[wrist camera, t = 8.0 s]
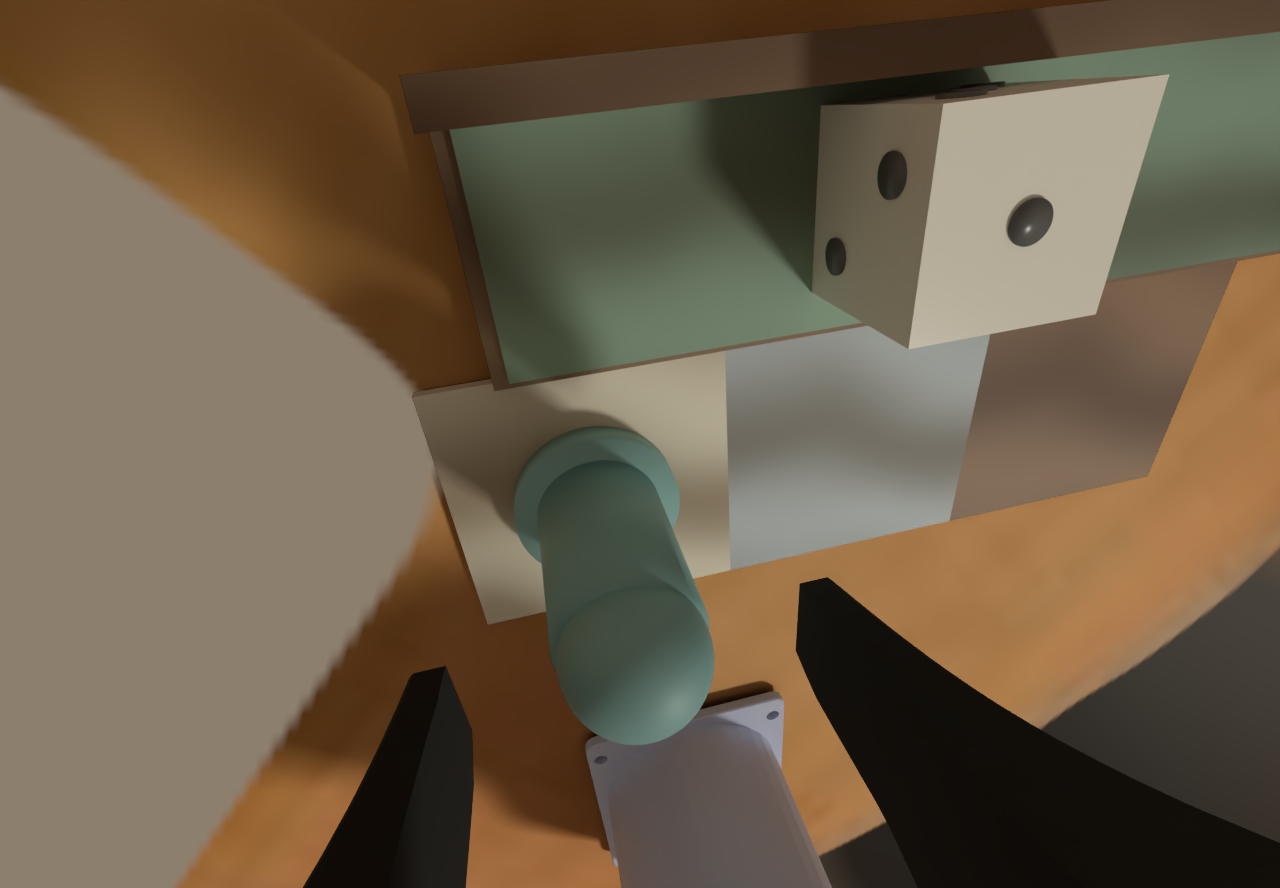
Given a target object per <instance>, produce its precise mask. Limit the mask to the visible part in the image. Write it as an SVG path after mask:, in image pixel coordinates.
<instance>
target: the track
mask: <svg viewBox="0 0 1280 888" xmlns="http://www.w3.org/2000/svg"><path fill="white" fill-rule="evenodd" d="M1236 264H1237V261H1234V262H1228V263H1223V264H1217V265H1211V266H1206V267H1200V268H1194V269H1188V270H1183V271H1177V272H1171V273H1166V274H1160V275H1154V276H1149V277H1143V278H1137V279H1131V280H1126V281H1120V282H1114V283H1109V284H1105V286H1104V289H1103V292H1102V296H1101V299H1100V302H1099V305H1098V309H1097V312H1096V314H1095V315H1090V316H1085V317H1079V318H1074V319H1069V320H1063V321H1058V322H1052V323H1047V324H1042V325H1036V326H1031V327H1026V328H1020V329H1015V330H1010V331H1004V332H999V333H994V334H988V335H983V336H978V337H972V338H967V339H961V340H956V341H951V342H945V343H940V344H935V345H929V346H924V347H919V348H913V349H907V348H905V347H904V346H902V345H900V344H898V343H897V342H895V341H893V340H892V339H890V338H888V337H887V336H885V335H883V334H881V333H880V332H878V331H876V330H875V329H873V328H871V327H870V326H864V327H858V328H852V329H846V330H841V331H835V332H829V333H824V334H818V335H812V336H807V337H801V338H795V339H789V340H784V341H778V342H772V343H767V344H761V345H755V346H750V347H744V348H738V349H732V350H727V351H721V352H715V353H710V354H704V355H698V356H693V357H687V358H681V359H676V360H670V361H664V362H658V363H653V364H647V365H641V366H636V367H630V368H624V369H619V370H613V371H607V372H601V373H596V374H590V375H584V376H579V377H573V378H567V379H562V380H556V381H550V382H544V383H539V384H533V385H527V386H522V387H516V388H510V389H505V390H499V391H494V388H493V384H492V380H491V379H488V380H482V381H476V382H471V383H465V384H459V385H453V386H447V387H442V388H436V389H430V390H424V391H418V392H414V393H413V396H412V398H413V401H414V404H415V407H416V410H417V413H418V416H419V419H420V422H421V425H422V428H423V431H424V434H425V437H426V440H427V443H428V446H429V449H430V452H431V455H432V458H433V461H434V464H435V467H436V470H437V473H438V476H439V479H440V482H441V485H442V488H443V491H444V494H445V497H446V500H447V503H448V506H449V510H450V513H451V516H452V519H453V522H454V525H455V528H456V531H457V534H458V537H459V540H460V543H461V546H462V549H463V552H464V555H465V558H466V561H467V564H468V567H469V570H470V573H471V576H472V579H473V582H474V585H475V588H476V591H477V594H478V597H479V600H480V603H481V606H482V609H483V612H484V615H485V618H486V621H487V624H488V625H489V624H494V623H498V622H502V621H507V620H511V619H516V618H520V617H525V616H529V615H534V614H538V613H542V612H546V606H545V596H544V585H543V574H542V564H541V563H540V562H538V561H537V560H535V559H534V558H533V557H532V556H531V555H530V554H529V553H528V551H527V550H526V549H525V548H524V546H523V544H522V543H521V541H520V539H519V536H518V534H517V531H516V526H515V515H514V492H515V486H516V483H517V480H518V477H519V475H520V473H521V471H522V469H523V467H524V466H525V464H526V463H527V461H528V460H529V459H530V458H531V456H532V455H533V454H534V453H535V452H536V451H537V450H539V449H540V448H541V447H542V446H543V445H545V444H546V443H548V442H549V441H551V440H552V439H554V438H556V437H558V436H560V435H562V434H564V433H567V432H570V431H572V430H576V429H580V428H584V427H592V426H610V427H618V428H622V429H626V430H629V431H632V432H635V433H637V434H639V435H641V436H643V437H645V438H646V439H647V440H649V441H650V442H651V443H653V444H654V445H655V446H656V447H657V448H658V449H659V450H660V451H661V453H662V454H663V456H664V457H665V459H666V461H667V463H668V465H669V467H670V469H671V471H672V473H673V475H674V477H675V479H676V482H677V485H678V488H679V494H680V507H679V514H678V517H677V520H676V523H675V525H674V527H673V531H674V534H675V536H676V538H677V541H678V543H679V546H680V548H681V551H682V553H683V555H684V558H685V560H686V563H687V565H688V567H689V570H690V572H691V575H692V577H693V578H698V577H702V576H707V575H711V574H716V573H720V572H724V571H729V570H733V569H738V568H742V567H747V566H751V565H756V564H760V563H764V562H769V561H773V560H778V559H782V558H787V557H791V556H796V555H800V554H804V553H809V552H813V551H818V550H822V549H827V548H831V547H835V546H840V545H844V544H849V543H853V542H858V541H862V540H867V539H871V538H875V537H880V536H884V535H889V534H893V533H898V532H902V531H906V530H911V529H915V528H920V527H924V526H929V525H933V524H938V523H942V522H946V521H951V520H955V519H960V518H964V517H969V516H973V515H978V514H982V513H986V512H991V511H995V510H1000V509H1004V508H1009V507H1013V506H1017V505H1022V504H1026V503H1031V502H1035V501H1040V500H1044V499H1049V498H1053V497H1057V496H1062V495H1066V494H1071V493H1075V492H1080V491H1084V490H1089V489H1093V488H1097V487H1102V486H1106V485H1111V484H1115V483H1120V482H1124V481H1128V480H1133V479H1137V478H1142V477H1146V476H1148V474H1149V472H1150V469H1151V467H1152V464H1153V462H1154V460H1155V457H1156V455H1157V452H1158V450H1159V448H1160V445H1161V443H1162V441H1163V438H1164V436H1165V433H1166V431H1167V429H1168V426H1169V424H1170V421H1171V419H1172V417H1173V414H1174V412H1175V409H1176V407H1177V405H1178V402H1179V400H1180V398H1181V395H1182V393H1183V390H1184V388H1185V386H1186V383H1187V381H1188V378H1189V376H1190V374H1191V371H1192V369H1193V367H1194V364H1195V362H1196V359H1197V357H1198V355H1199V352H1200V350H1201V347H1202V345H1203V343H1204V340H1205V338H1206V335H1207V333H1208V331H1209V328H1210V326H1211V324H1212V321H1213V319H1214V316H1215V314H1216V312H1217V309H1218V307H1219V304H1220V302H1221V300H1222V297H1223V295H1224V293H1225V290H1226V288H1227V285H1228V283H1229V281H1230V278H1231V276H1232V273H1233V271H1234V269H1235V266H1236Z"/></svg>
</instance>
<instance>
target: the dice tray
mask: <svg viewBox="0 0 1280 888" xmlns="http://www.w3.org/2000/svg"><path fill="white" fill-rule="evenodd" d="M1163 74H1169V78H1168V81H1167V84H1166V87H1165V91H1164V94H1163V97H1162V100H1161V104H1160V107H1159V110H1158V113H1157V117H1156V120H1155V123H1154V126H1153V130H1152V133H1151V136H1150V139H1149V143H1148V146H1147V149H1146V152H1145V156H1144V159H1143V162H1142V165H1141V169H1140V172H1139V175H1138V178H1137V182H1136V185H1135V188H1134V192H1133V195H1132V198H1131V201H1130V205H1129V208H1128V211H1127V214H1126V218H1125V221H1124V224H1123V227H1122V231H1121V234H1120V237H1119V240H1118V244H1117V247H1116V250H1115V253H1114V257H1113V260H1112V263H1111V266H1110V270H1109V273H1108V276H1107V279H1106V283H1105V284H1109V283H1114V282H1120V281H1126V280H1131V279H1137V278H1143V277H1149V276H1154V275H1160V274H1166V273H1171V272H1177V271H1183V270H1188V269H1194V268H1200V267H1206V266H1211V265H1217V264H1223V263H1228V262H1234V261H1240V260H1245V259H1251V258H1257V257H1263V256H1268V255H1274V254H1280V0H1109V1H1100V2H1090V3H1081V4H1071V5H1062V6H1052V7H1043V8H1033V9H1024V10H1014V11H1005V12H995V13H986V14H976V15H967V16H957V17H948V18H938V19H929V20H920V21H910V22H901V23H891V24H882V25H872V26H863V27H853V28H844V29H834V30H825V31H815V32H806V33H796V34H787V35H777V36H768V37H758V38H749V39H740V40H730V41H721V42H711V43H702V44H692V45H683V46H673V47H664V48H654V49H645V50H635V51H626V52H616V53H607V54H597V55H588V56H578V57H569V58H560V59H550V60H541V61H531V62H522V63H512V64H503V65H493V66H484V67H474V68H465V69H455V70H446V71H436V72H427V73H417V74H408V75H399V76H400V80H401V84H402V88H403V92H404V96H405V99H406V103H407V107H408V111H409V115H410V118H411V122H412V126H413V130H414V134H418V133H427V132H429V133H430V137H431V141H432V145H433V149H434V153H435V157H436V161H437V165H438V169H439V173H440V177H441V181H442V185H443V189H444V193H445V197H446V201H447V205H448V209H449V213H450V217H451V221H452V225H453V229H454V233H455V237H456V241H457V245H458V249H459V253H460V257H461V261H462V265H463V269H464V273H465V277H466V281H467V285H468V289H469V293H470V297H471V301H472V305H473V309H474V312H475V316H476V320H477V324H478V328H479V332H480V336H481V340H482V344H483V348H484V352H485V356H486V360H487V364H488V368H489V372H490V376H491V380H492V384H493V388H494V391H499V390H505V389H510V388H516V387H522V386H527V385H533V384H539V383H544V382H550V381H556V380H562V379H567V378H573V377H579V376H584V375H590V374H596V373H601V372H607V371H613V370H619V369H624V368H630V367H636V366H641V365H647V364H653V363H658V362H664V361H670V360H676V359H681V358H687V357H693V356H698V355H704V354H710V353H715V352H721V351H727V350H732V349H738V348H744V347H750V346H755V345H761V344H767V343H772V342H778V341H784V340H789V339H795V338H801V337H807V336H812V335H818V334H824V333H829V332H835V331H841V330H846V329H852V328H858V327H864V326H868V325H866V324H864V323H863V322H861V321H859V320H858V319H856V318H854V317H853V316H851V315H849V314H847V313H846V312H844V311H842V310H841V309H839V308H837V307H836V306H834V305H832V304H830V303H829V302H827V301H825V300H824V299H822V298H820V297H818V296H817V295H815V294H813V293H812V277H813V257H814V236H815V216H816V196H817V175H818V155H819V134H820V114H821V105H827V104H835V103H842V102H850V101H858V100H866V99H874V98H882V97H889V96H897V95H905V94H913V93H921V92H929V91H936V90H944V89H952V88H960V86H961V85H967V84H976V83H985V82H997V81H1006V82H1005V83H1009V82H1029V81H1048V80H1067V79H1086V78H1105V77H1124V76H1144V75H1163Z"/></svg>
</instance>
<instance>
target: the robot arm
mask: <svg viewBox="0 0 1280 888" xmlns="http://www.w3.org/2000/svg"><path fill="white" fill-rule="evenodd" d="M796 652H797V654H798V657H799V659H800V661H801V664H802V666H803V669H804V671H805V673H806V676H807V678H808V680H809V682H810V685H811V687H812V689H813V691H814V694H815V696H816V698H817V700H818V702H819V703H820V705H821V707H822V709H823V710H824V712H825V714H826V716H827V718H828V719H829V721H830V723H831V725H832V726H833V728H834V730H835V732H836V733H837V735H838V737H839V739H840V740H841V742H842V744H843V745H844V747H845V749H846V751H847V752H848V754H849V756H850V758H851V759H852V761H853V763H854V764H855V766H856V768H857V770H858V771H859V773H860V775H861V777H862V778H863V780H864V782H865V784H866V785H867V787H868V789H869V790H870V792H871V794H872V796H873V797H874V799H875V801H876V803H877V804H878V806H879V808H880V810H881V812H882V814H883V816H884V818H885V820H886V821H887V823H888V825H889V827H890V829H891V831H892V834H893V836H894V838H895V840H896V842H897V844H898V846H899V848H900V850H901V853H902V855H903V857H904V859H905V861H906V863H907V865H908V867H909V870H910V872H911V874H912V876H913V878H914V881H915V883H916V885H917V887H918V888H1280V843H1278V842H1276V841H1274V840H1271V839H1269V838H1266V837H1264V836H1261V835H1259V834H1257V833H1254V832H1252V831H1250V830H1247V829H1245V828H1242V827H1240V826H1238V825H1235V824H1233V823H1231V822H1228V821H1226V820H1224V819H1221V818H1218V817H1216V816H1214V815H1211V814H1209V813H1207V812H1204V811H1202V810H1200V809H1197V808H1195V807H1193V806H1191V805H1188V804H1186V803H1184V802H1182V801H1179V800H1177V799H1175V798H1173V797H1171V796H1169V795H1166V794H1165V793H1162V792H1160V791H1158V790H1156V789H1154V788H1152V787H1149V786H1147V785H1145V784H1143V783H1141V782H1139V781H1137V780H1135V779H1133V778H1131V777H1128V776H1127V775H1125V774H1122V773H1121V772H1119V771H1117V770H1115V769H1113V768H1111V767H1109V766H1107V765H1105V764H1103V763H1101V762H1099V761H1097V760H1095V759H1093V758H1092V757H1090V756H1088V755H1086V754H1084V753H1082V752H1080V751H1078V750H1077V749H1075V748H1072V747H1071V746H1069V745H1067V744H1065V743H1063V742H1061V741H1059V740H1058V739H1056V738H1054V737H1052V736H1050V735H1049V734H1047V733H1045V732H1043V731H1042V730H1040V729H1038V728H1036V727H1035V726H1033V725H1031V724H1030V723H1028V722H1026V721H1025V720H1023V719H1021V718H1020V717H1018V716H1016V715H1015V714H1013V713H1011V712H1010V711H1008V710H1006V709H1005V708H1003V707H1002V706H1000V705H998V704H997V703H995V702H994V701H992V700H991V699H989V698H987V697H986V696H984V695H983V694H981V693H980V692H978V691H977V690H975V689H974V688H972V687H971V686H969V685H968V684H966V683H965V682H963V681H962V680H961V679H959V678H958V677H956V676H955V675H953V674H952V673H950V672H949V671H948V670H946V669H945V668H943V667H942V666H941V665H939V664H938V663H936V662H935V661H934V660H932V659H931V658H929V657H928V656H927V655H925V654H924V653H923V652H921V651H920V650H919V649H917V648H916V647H915V646H913V645H912V644H911V643H909V642H908V641H907V640H906V639H904V638H903V637H902V636H900V635H899V634H898V633H896V632H895V631H894V630H892V629H891V628H890V627H889V626H887V625H886V624H885V623H884V622H882V621H881V620H880V619H879V618H877V617H876V616H875V615H874V614H872V613H871V612H870V611H869V610H867V609H866V608H865V607H864V606H862V605H861V604H860V603H859V602H858V601H856V600H855V599H854V598H853V597H852V596H850V595H849V594H848V593H847V592H845V591H844V590H843V589H842V588H841V587H839V586H838V585H837V584H836V583H834V582H833V581H832V580H831V579H829V578H828V577H827V578H822V579H818V580H814V581H809V582H805V583H801V584H800V589H799V606H798V622H797V639H796ZM783 721H784V701H783V699H782V697H781V695H780V694H779V693H778V692H767V693H763V694H759V695H755V696H751V697H747V698H743V699H739V700H735V701H732V702H728V703H724V704H720V705H716V706H712V707H708V708H704V709H700V710H699V711H698V713H697V714H696V715H695V716H694V718H693V719H692V720H691V721H690V722H689V723H688V724H687V725H686V726H685V727H684V728H682V729H681V730H680V731H678V732H677V733H675V734H673V735H672V736H670V737H668V738H666V739H663V740H661V741H658V742H655V743H650V744H644V745H625V744H620V743H616V742H612V741H609V740H607V739H604V738H602V737H601V736H599V735H598V736H595V737H592V738H591V739H589V740H588V741H587V743H586V744H585V750H586V756H587V760H588V764H589V768H590V772H591V776H592V780H593V784H594V788H595V792H596V796H597V800H598V804H599V808H600V812H601V816H602V820H603V824H604V828H605V832H606V836H607V840H608V844H609V848H610V852H611V856H612V860H613V864H614V865H615V866H617V867H618V869H619V875H620V882H621V888H832V887H831V885H830V883H829V880H828V878H827V876H826V873H825V871H824V869H823V866H822V864H821V862H820V859H819V857H818V855H817V852H816V850H815V847H814V845H813V843H812V840H811V838H810V836H809V833H808V831H807V829H806V826H805V824H804V822H803V819H802V817H801V815H800V812H799V810H798V808H797V805H796V803H795V801H794V798H793V796H792V794H791V791H790V789H789V787H788V784H787V782H786V780H785V777H784V775H783V772H782V770H781V765H782V743H783ZM473 788H474V779H473V741H472V729H471V727H470V724H469V722H468V719H467V717H466V714H465V712H464V709H463V707H462V705H461V702H460V700H459V697H458V695H457V692H456V690H455V687H454V685H453V683H452V680H451V678H450V675H449V673H448V670H447V668H446V666H444V667H440V668H435V669H431V670H427V671H422V672H418V673H414V674H413V675H412V676H411V677H410V678H409V680H408V682H407V685H406V687H405V690H404V692H403V694H402V697H401V699H400V701H399V704H398V706H397V708H396V710H395V713H394V715H393V717H392V719H391V722H390V724H389V726H388V728H387V730H386V732H385V735H384V737H383V739H382V741H381V743H380V745H379V747H378V750H377V752H376V754H375V756H374V758H373V760H372V762H371V764H370V766H369V768H368V770H367V772H366V774H365V776H364V778H363V780H362V782H361V784H360V786H359V788H358V790H357V792H356V794H355V796H354V798H353V800H352V802H351V803H350V805H349V807H348V809H347V811H346V813H345V814H344V816H343V818H342V820H341V822H340V823H339V825H338V827H337V829H336V831H335V833H334V834H333V836H332V838H331V840H330V842H329V843H328V845H327V847H326V849H325V851H324V852H323V854H322V856H321V858H320V859H319V861H318V863H317V865H316V866H315V868H314V870H313V871H312V873H311V875H310V876H309V878H308V880H307V881H306V883H305V885H304V886H303V888H466V876H467V864H468V852H469V840H470V828H471V815H472V802H473Z"/></svg>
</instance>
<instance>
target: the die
mask: <svg viewBox="0 0 1280 888" xmlns="http://www.w3.org/2000/svg"><path fill="white" fill-rule="evenodd" d="M1168 78H1169V74H1163V75H1144V76H1124V77H1105V78H1086V79H1067V80H1048V81H1029V82H1009V83H1005V82H1006V81H997V82H985V83H976V84H967V85H961V86H960V88H952V89H944V90H936V91H929V92H921V93H913V94H905V95H897V96H889V97H882V98H874V99H866V100H858V101H850V102H842V103H835V104H827V105H821V114H820V134H819V155H818V175H817V196H816V216H815V236H814V257H813V277H812V293H813V294H815V295H817V296H818V297H820V298H822V299H824V300H825V301H827V302H829V303H830V304H832V305H834V306H836V307H837V308H839V309H841V310H842V311H844V312H846V313H847V314H849V315H851V316H853V317H854V318H856V319H858V320H859V321H861V322H863V323H864V324H866V325H868V326H870V327H871V328H873V329H875V330H876V331H878V332H880V333H881V334H883V335H885V336H887V337H888V338H890V339H892V340H893V341H895V342H897V343H898V344H900V345H902V346H904V347H905V348H907V349H913V348H919V347H924V346H929V345H935V344H940V343H945V342H951V341H956V340H961V339H967V338H972V337H978V336H983V335H988V334H994V333H999V332H1004V331H1010V330H1015V329H1020V328H1026V327H1031V326H1036V325H1042V324H1047V323H1052V322H1058V321H1063V320H1069V319H1074V318H1079V317H1085V316H1090V315H1095V314H1096V312H1097V309H1098V305H1099V302H1100V299H1101V296H1102V292H1103V289H1104V286H1105V283H1106V279H1107V276H1108V273H1109V270H1110V266H1111V263H1112V260H1113V257H1114V253H1115V250H1116V247H1117V244H1118V240H1119V237H1120V234H1121V231H1122V227H1123V224H1124V221H1125V218H1126V214H1127V211H1128V208H1129V205H1130V201H1131V198H1132V195H1133V192H1134V188H1135V185H1136V182H1137V178H1138V175H1139V172H1140V169H1141V165H1142V162H1143V159H1144V156H1145V152H1146V149H1147V146H1148V143H1149V139H1150V136H1151V133H1152V130H1153V126H1154V123H1155V120H1156V117H1157V113H1158V110H1159V107H1160V104H1161V100H1162V97H1163V94H1164V91H1165V87H1166V84H1167V81H1168Z"/></svg>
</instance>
